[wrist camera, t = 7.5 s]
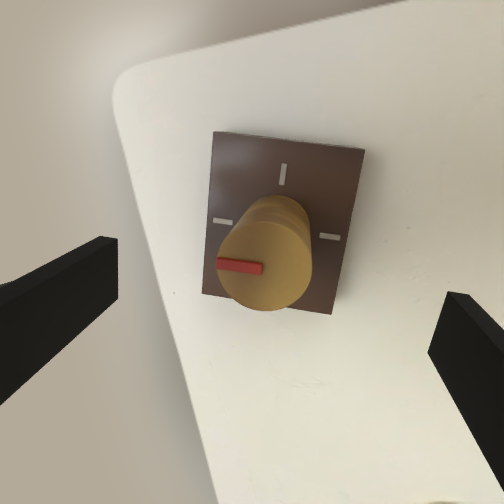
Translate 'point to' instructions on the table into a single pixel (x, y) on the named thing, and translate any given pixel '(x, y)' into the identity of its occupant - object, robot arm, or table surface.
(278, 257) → the lock knob
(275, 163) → the plate
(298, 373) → the table surface
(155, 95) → the table surface
